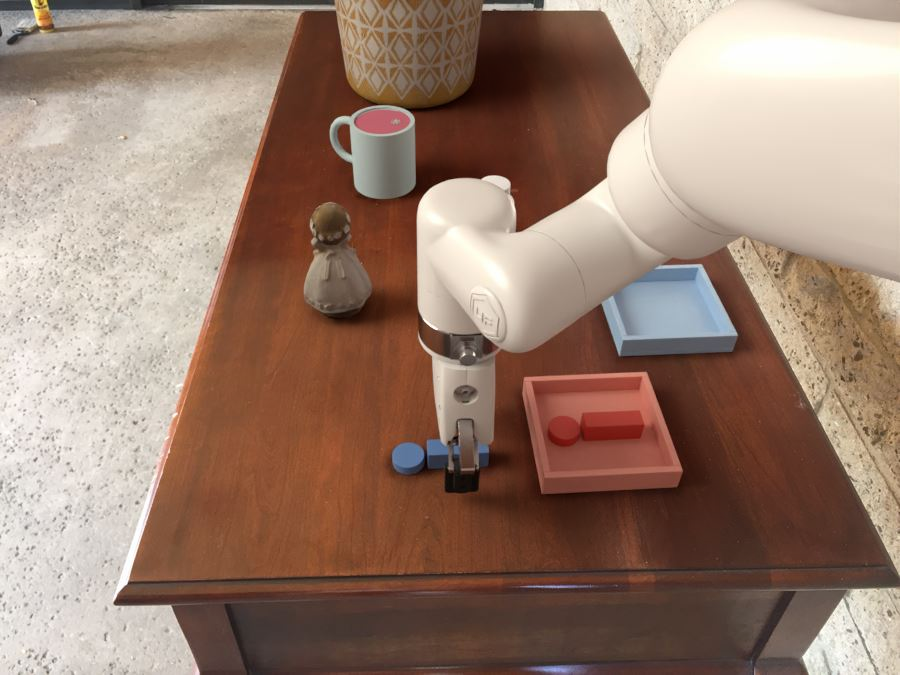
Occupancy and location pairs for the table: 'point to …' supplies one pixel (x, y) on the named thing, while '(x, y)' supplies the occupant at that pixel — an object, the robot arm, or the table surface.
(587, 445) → the red tray
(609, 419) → the red spoon
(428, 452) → the blue spoon
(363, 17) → the planter
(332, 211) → the figurine
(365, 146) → the mug
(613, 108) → the table surface
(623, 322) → the blue tray
